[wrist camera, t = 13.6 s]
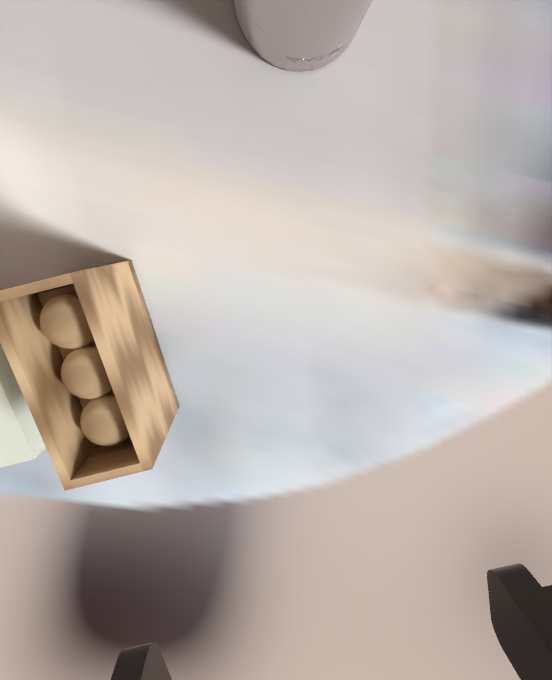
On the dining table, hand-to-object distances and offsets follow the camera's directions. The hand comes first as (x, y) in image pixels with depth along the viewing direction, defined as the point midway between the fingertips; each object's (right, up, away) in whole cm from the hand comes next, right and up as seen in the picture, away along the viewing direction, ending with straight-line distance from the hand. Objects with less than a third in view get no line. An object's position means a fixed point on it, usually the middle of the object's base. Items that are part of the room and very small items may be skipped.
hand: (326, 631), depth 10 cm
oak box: (-14, +7, +24) cm, 29 cm away
